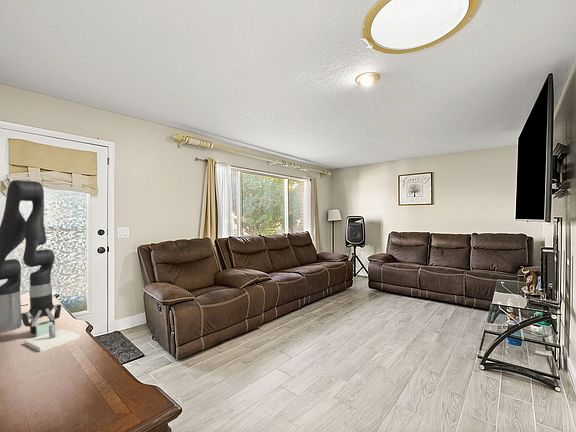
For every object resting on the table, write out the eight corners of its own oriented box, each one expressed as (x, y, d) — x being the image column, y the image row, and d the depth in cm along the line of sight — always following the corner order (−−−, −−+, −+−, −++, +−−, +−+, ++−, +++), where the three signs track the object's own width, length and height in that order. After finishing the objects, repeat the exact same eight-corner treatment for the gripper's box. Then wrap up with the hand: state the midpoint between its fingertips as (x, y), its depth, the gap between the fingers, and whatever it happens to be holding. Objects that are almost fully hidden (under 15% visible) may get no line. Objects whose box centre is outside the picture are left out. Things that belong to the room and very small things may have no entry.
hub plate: (25, 344, 114) (24, 327, 114) (63, 332, 125) (62, 316, 125) (40, 351, 106) (39, 333, 106) (79, 338, 117) (78, 321, 117)
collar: (32, 335, 124) (32, 325, 124) (48, 330, 128) (47, 320, 129) (37, 337, 121) (36, 326, 121) (53, 332, 126) (52, 322, 126)
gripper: (57, 289, 133) (58, 324, 133) (16, 297, 121) (18, 336, 120) (64, 290, 129) (65, 327, 129) (22, 299, 117) (24, 339, 117)
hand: (42, 331), depth 125 cm, fingers closed on collar, 5 cm apart
